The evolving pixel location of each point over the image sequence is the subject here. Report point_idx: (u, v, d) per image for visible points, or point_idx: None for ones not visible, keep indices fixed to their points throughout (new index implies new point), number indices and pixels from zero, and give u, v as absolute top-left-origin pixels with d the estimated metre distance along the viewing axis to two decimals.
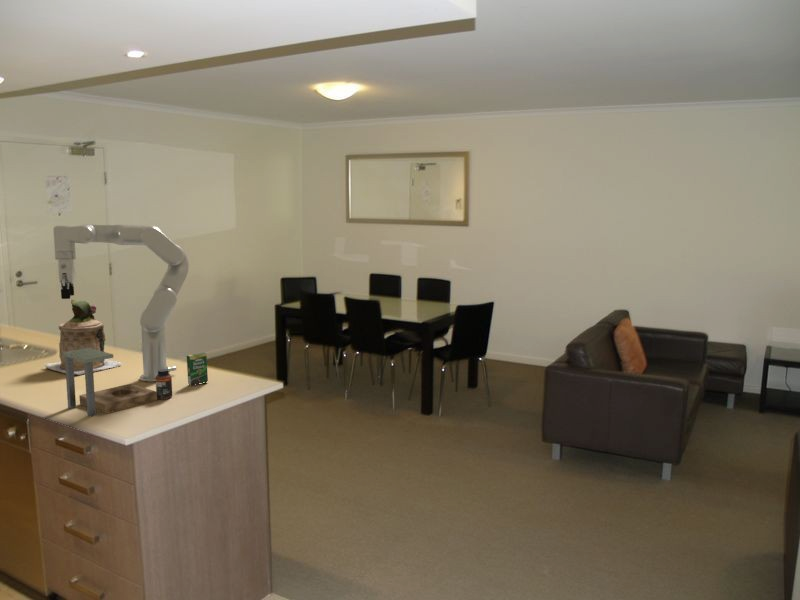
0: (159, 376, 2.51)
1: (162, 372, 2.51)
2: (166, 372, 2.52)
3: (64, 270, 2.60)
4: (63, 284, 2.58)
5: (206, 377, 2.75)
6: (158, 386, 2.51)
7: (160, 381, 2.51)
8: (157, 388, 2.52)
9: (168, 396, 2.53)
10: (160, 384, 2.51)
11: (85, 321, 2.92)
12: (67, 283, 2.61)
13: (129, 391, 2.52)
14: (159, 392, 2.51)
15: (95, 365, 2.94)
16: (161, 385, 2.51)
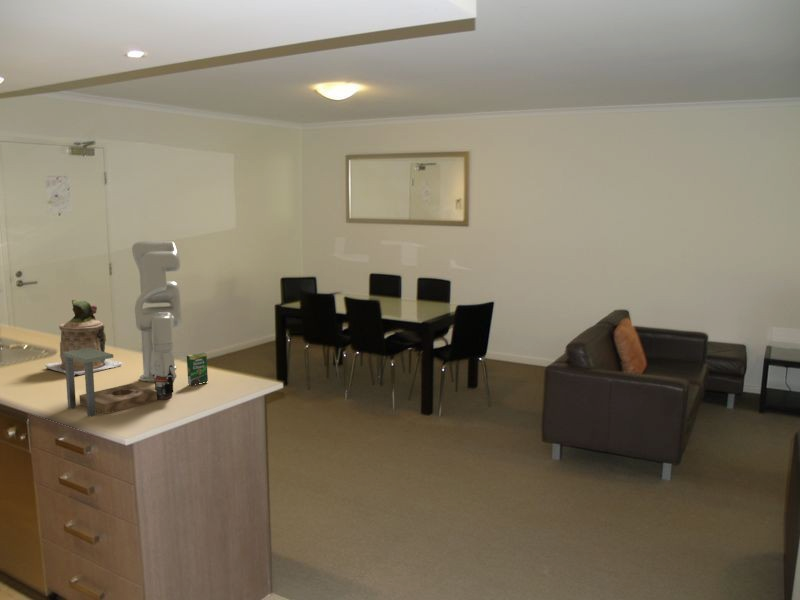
0: (159, 376, 2.51)
1: None
2: None
3: None
4: None
5: (206, 377, 2.75)
6: (158, 386, 2.51)
7: (160, 381, 2.51)
8: (157, 388, 2.52)
9: (168, 396, 2.53)
10: (160, 384, 2.51)
11: (86, 321, 2.92)
12: (155, 374, 2.55)
13: (129, 391, 2.52)
14: (159, 392, 2.51)
15: (96, 365, 2.95)
16: (161, 385, 2.51)
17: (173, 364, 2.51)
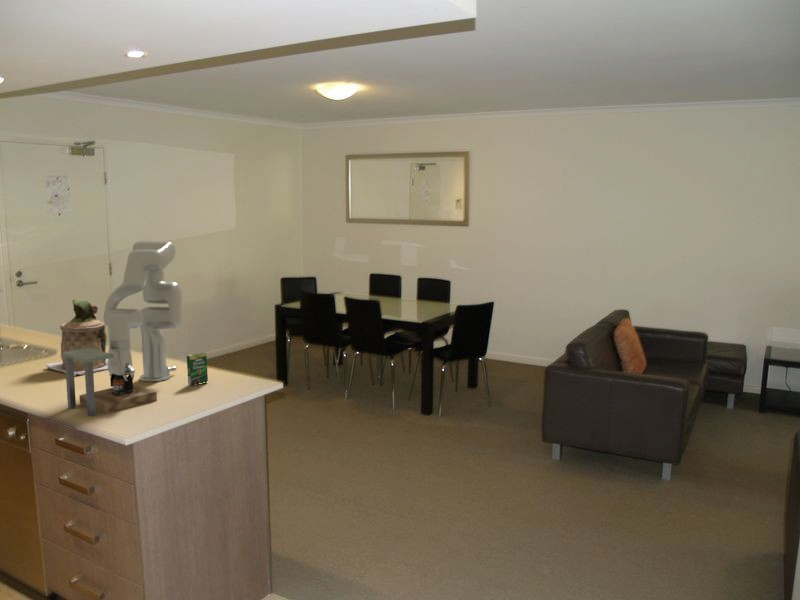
0: (116, 379, 2.46)
1: None
2: None
3: None
4: None
5: (206, 377, 2.75)
6: (115, 389, 2.46)
7: (117, 385, 2.45)
8: (114, 391, 2.46)
9: None
10: (117, 388, 2.45)
11: (87, 321, 2.92)
12: None
13: None
14: (116, 395, 2.46)
15: (97, 365, 2.95)
16: (118, 388, 2.46)
17: (130, 362, 2.45)
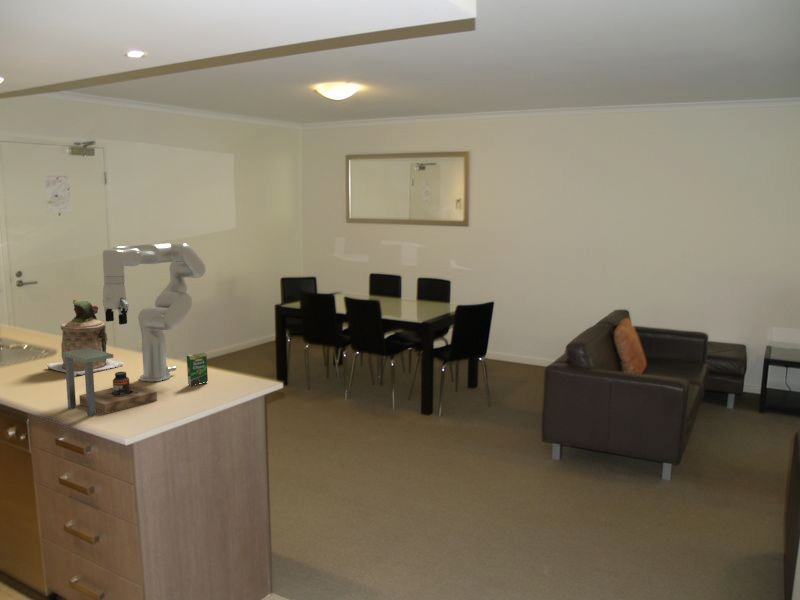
0: (116, 379, 2.46)
1: (119, 375, 2.46)
2: (123, 375, 2.47)
3: None
4: None
5: (206, 377, 2.75)
6: (115, 389, 2.46)
7: (117, 385, 2.45)
8: (114, 391, 2.46)
9: None
10: (117, 388, 2.45)
11: (87, 321, 2.92)
12: None
13: None
14: (116, 395, 2.46)
15: (97, 365, 2.95)
16: (118, 388, 2.46)
17: (124, 297, 2.55)
